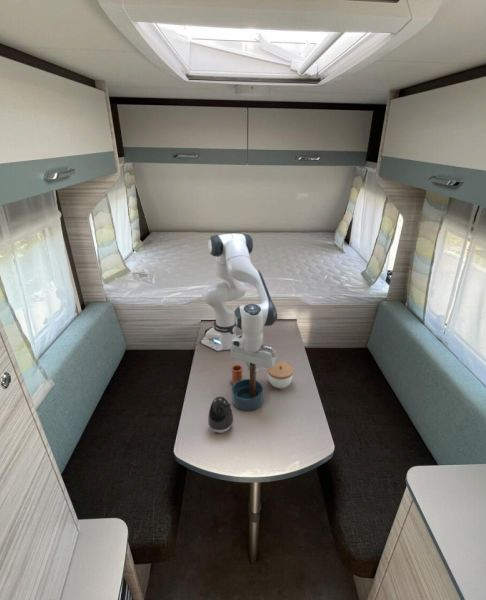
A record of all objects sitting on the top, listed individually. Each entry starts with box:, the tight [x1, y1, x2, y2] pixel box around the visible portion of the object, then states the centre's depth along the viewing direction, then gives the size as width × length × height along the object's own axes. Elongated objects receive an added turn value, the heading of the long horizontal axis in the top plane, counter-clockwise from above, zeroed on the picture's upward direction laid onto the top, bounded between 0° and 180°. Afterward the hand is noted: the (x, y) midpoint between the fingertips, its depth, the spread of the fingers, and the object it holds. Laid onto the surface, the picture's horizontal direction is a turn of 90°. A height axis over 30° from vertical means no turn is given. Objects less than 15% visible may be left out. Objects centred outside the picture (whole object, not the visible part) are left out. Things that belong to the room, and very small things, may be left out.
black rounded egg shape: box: [207, 395, 234, 434], centre depth 132 cm, size 10×10×15 cm
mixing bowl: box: [231, 378, 265, 412], centre depth 148 cm, size 14×14×7 cm
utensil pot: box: [231, 364, 244, 386], centre depth 159 cm, size 5×5×9 cm
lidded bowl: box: [266, 361, 294, 390], centre depth 158 cm, size 13×13×11 cm
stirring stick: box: [249, 363, 257, 398], centre depth 143 cm, size 2×2×18 cm
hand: (252, 370), depth 141 cm, fingers closed on stirring stick, 2 cm apart
